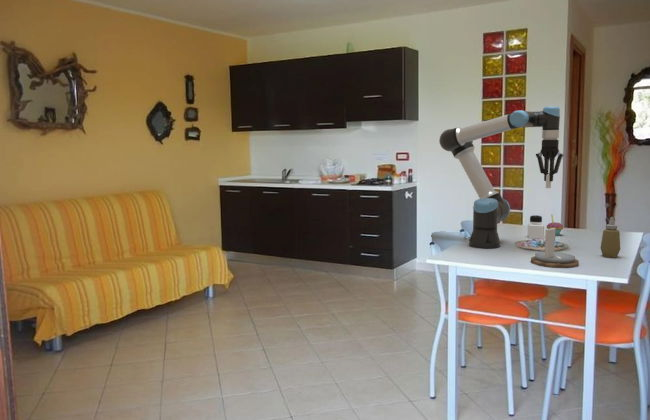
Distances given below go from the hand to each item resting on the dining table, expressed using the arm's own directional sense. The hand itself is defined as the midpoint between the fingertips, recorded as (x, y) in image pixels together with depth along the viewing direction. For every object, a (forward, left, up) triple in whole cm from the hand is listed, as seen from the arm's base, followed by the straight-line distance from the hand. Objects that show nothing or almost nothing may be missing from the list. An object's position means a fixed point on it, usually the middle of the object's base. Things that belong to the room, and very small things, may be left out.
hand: (548, 188), depth 271 cm
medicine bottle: (-15, +25, -30) cm, 42 cm away
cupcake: (-10, +40, -30) cm, 51 cm away
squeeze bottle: (+30, -3, -30) cm, 42 cm away
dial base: (+16, -33, -29) cm, 47 cm away
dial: (+16, -33, -28) cm, 46 cm away
